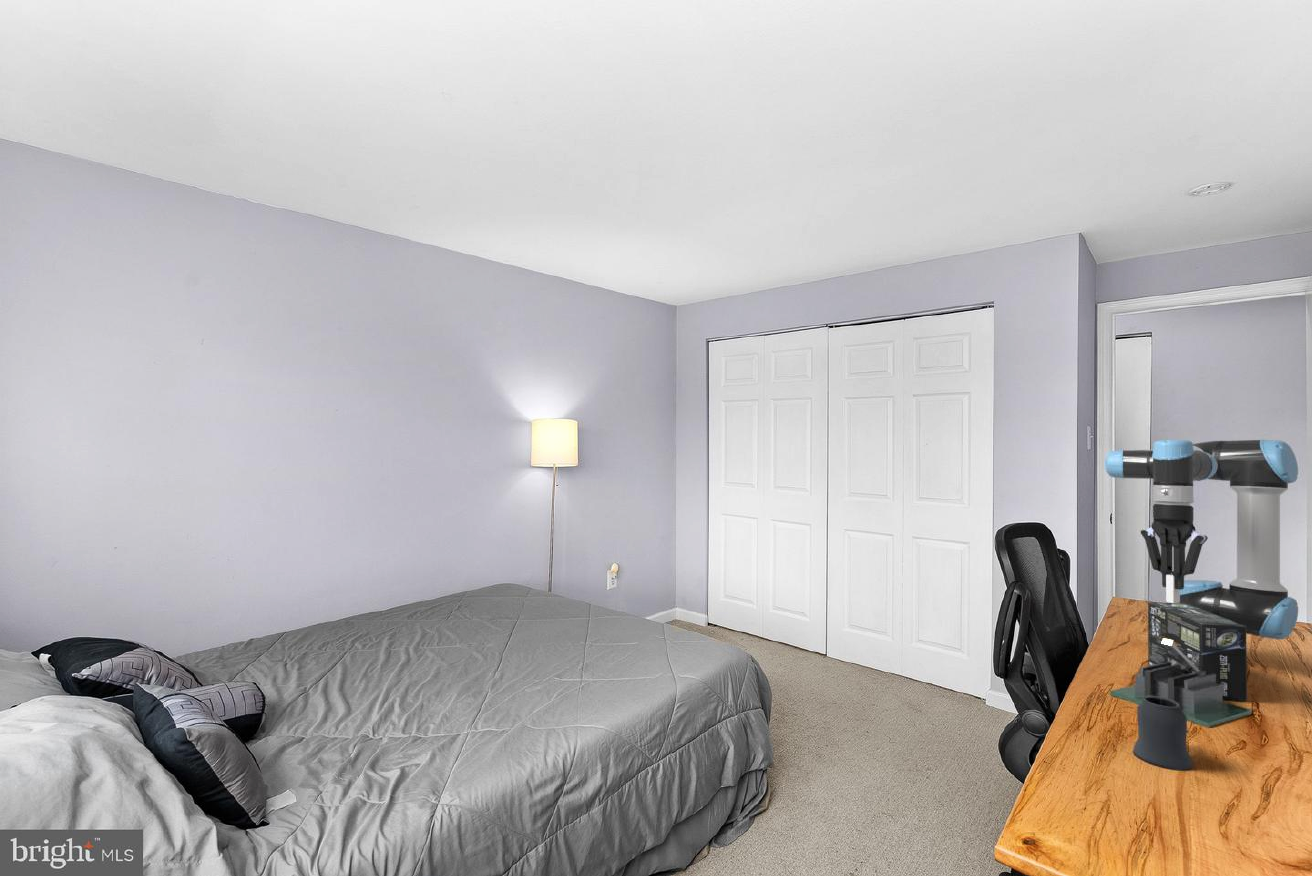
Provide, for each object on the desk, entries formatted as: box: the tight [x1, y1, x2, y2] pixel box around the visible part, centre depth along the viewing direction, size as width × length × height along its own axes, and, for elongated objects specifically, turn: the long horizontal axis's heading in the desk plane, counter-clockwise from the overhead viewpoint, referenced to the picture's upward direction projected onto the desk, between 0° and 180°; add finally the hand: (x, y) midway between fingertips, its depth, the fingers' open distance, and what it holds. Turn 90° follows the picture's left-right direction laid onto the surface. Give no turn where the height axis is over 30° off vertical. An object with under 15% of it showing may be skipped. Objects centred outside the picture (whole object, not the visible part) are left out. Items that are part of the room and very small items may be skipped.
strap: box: [1162, 638, 1200, 673], centre depth 149 cm, size 16×3×2 cm
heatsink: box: [1109, 662, 1252, 728], centre depth 148 cm, size 18×20×8 cm
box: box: [1147, 601, 1248, 703], centre depth 162 cm, size 23×10×19 cm, turn 168°
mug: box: [1132, 696, 1194, 772], centre depth 122 cm, size 12×9×11 cm
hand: (1173, 602), depth 148 cm, fingers closed
